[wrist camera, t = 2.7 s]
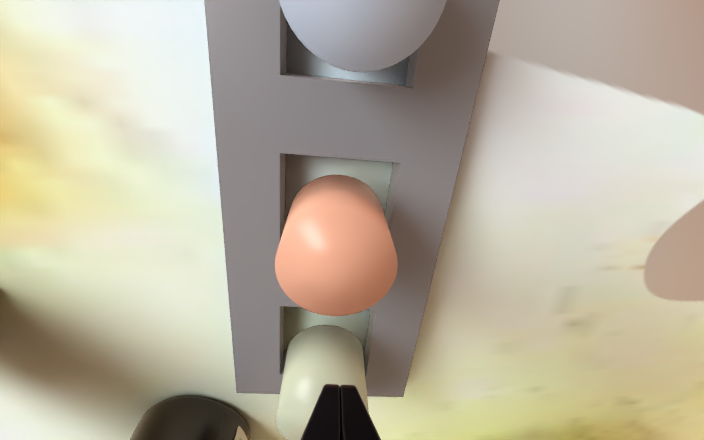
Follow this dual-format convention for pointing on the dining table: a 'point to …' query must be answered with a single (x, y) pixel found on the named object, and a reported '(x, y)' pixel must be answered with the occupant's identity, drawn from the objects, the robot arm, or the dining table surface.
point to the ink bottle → (191, 421)
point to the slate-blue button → (362, 29)
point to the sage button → (317, 374)
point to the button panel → (338, 142)
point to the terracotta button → (336, 248)
